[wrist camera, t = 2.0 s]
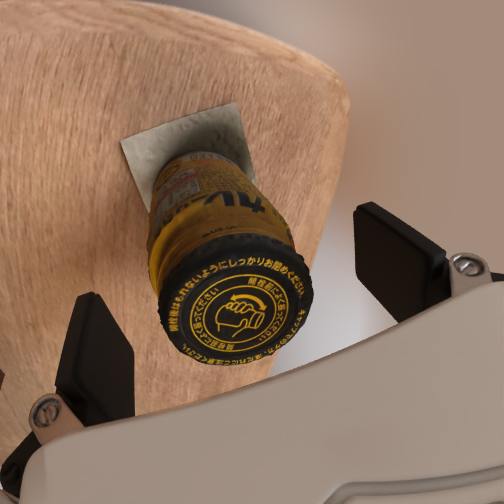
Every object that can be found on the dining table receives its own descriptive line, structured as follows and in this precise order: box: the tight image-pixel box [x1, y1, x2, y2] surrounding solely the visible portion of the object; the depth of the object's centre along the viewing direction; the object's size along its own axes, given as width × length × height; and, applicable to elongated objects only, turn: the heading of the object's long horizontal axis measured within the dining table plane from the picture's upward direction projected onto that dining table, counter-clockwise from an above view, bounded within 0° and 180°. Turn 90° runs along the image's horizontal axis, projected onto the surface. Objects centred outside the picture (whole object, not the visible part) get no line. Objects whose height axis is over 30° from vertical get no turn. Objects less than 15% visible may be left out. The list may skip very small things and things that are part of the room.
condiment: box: [120, 102, 314, 366], centre depth 15 cm, size 7×8×12 cm
